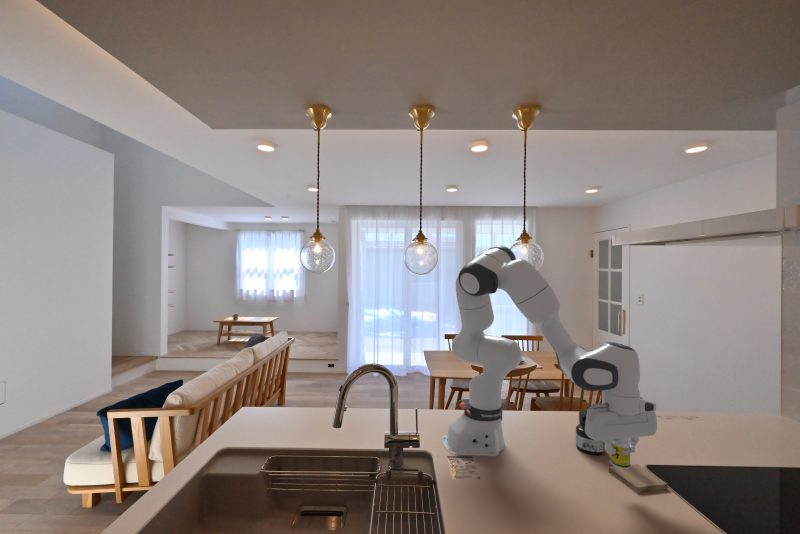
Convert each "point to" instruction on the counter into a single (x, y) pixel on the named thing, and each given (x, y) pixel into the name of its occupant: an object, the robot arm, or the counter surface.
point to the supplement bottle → (621, 453)
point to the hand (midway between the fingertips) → (620, 452)
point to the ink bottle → (587, 438)
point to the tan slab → (638, 479)
